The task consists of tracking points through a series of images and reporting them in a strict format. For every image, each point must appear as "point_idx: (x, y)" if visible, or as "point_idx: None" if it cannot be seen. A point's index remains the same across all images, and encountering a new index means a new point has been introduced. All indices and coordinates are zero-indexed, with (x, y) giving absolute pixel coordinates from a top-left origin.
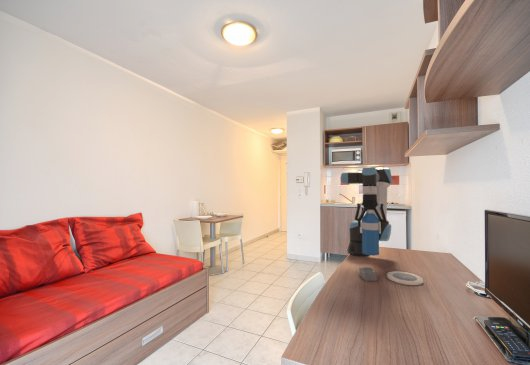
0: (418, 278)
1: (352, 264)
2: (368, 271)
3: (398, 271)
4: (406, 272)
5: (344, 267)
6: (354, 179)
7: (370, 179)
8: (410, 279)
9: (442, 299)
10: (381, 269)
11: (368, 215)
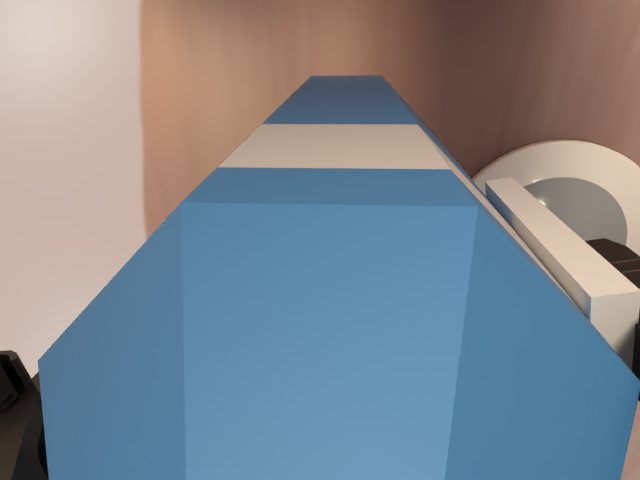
0: (633, 248)
1: (200, 40)
2: None
3: (541, 148)
4: (597, 149)
5: (161, 150)
6: None
7: None
8: None
9: (631, 431)
10: (426, 86)
11: None
